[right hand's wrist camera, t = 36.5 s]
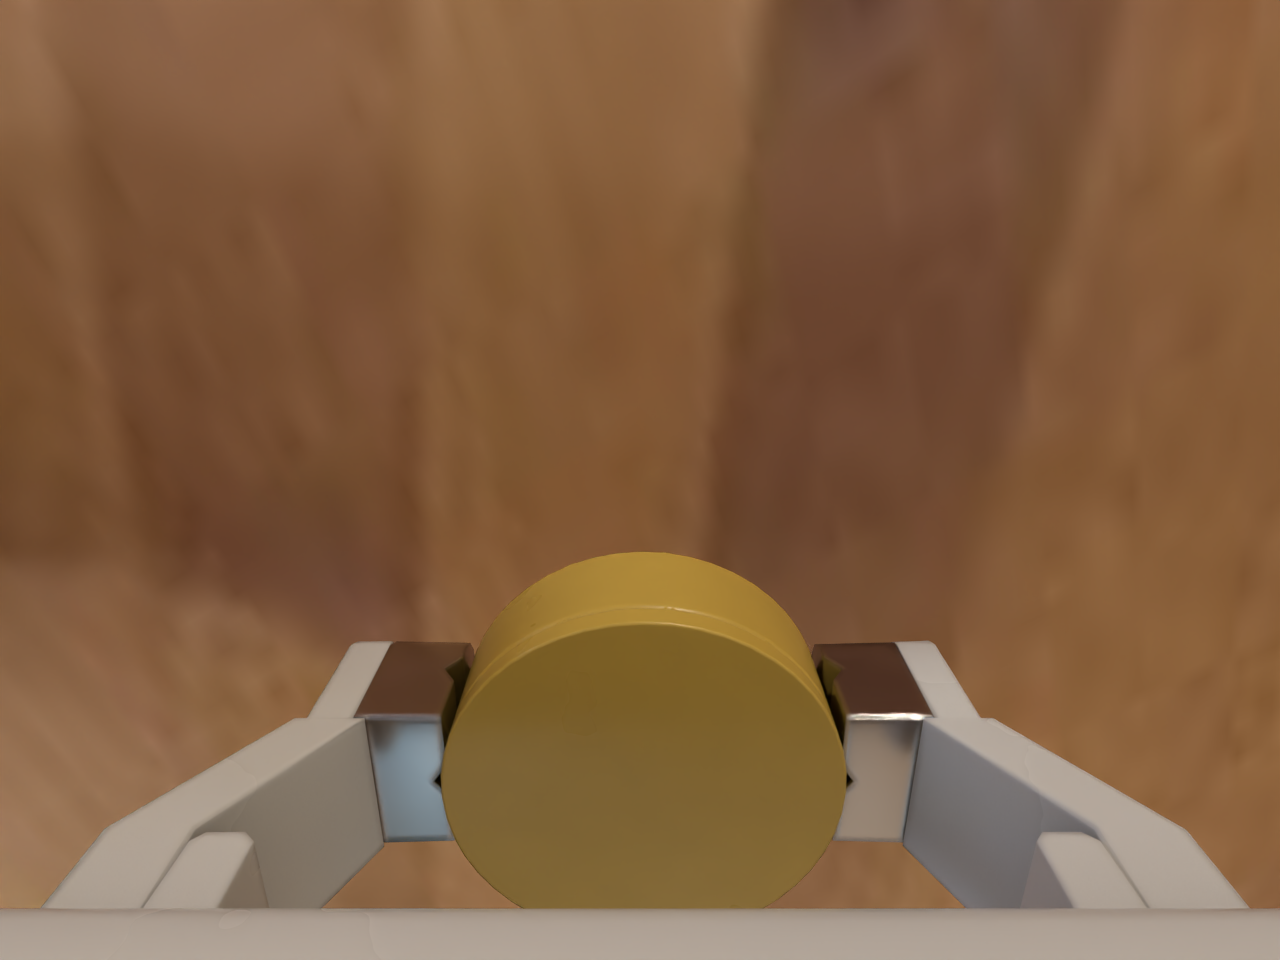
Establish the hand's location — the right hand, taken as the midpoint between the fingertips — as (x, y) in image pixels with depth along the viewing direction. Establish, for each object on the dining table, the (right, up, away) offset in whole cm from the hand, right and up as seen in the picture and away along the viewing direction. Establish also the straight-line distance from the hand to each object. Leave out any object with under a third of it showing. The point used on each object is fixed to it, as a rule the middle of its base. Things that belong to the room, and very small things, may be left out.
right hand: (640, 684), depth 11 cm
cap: (0, -1, -1) cm, 2 cm away
